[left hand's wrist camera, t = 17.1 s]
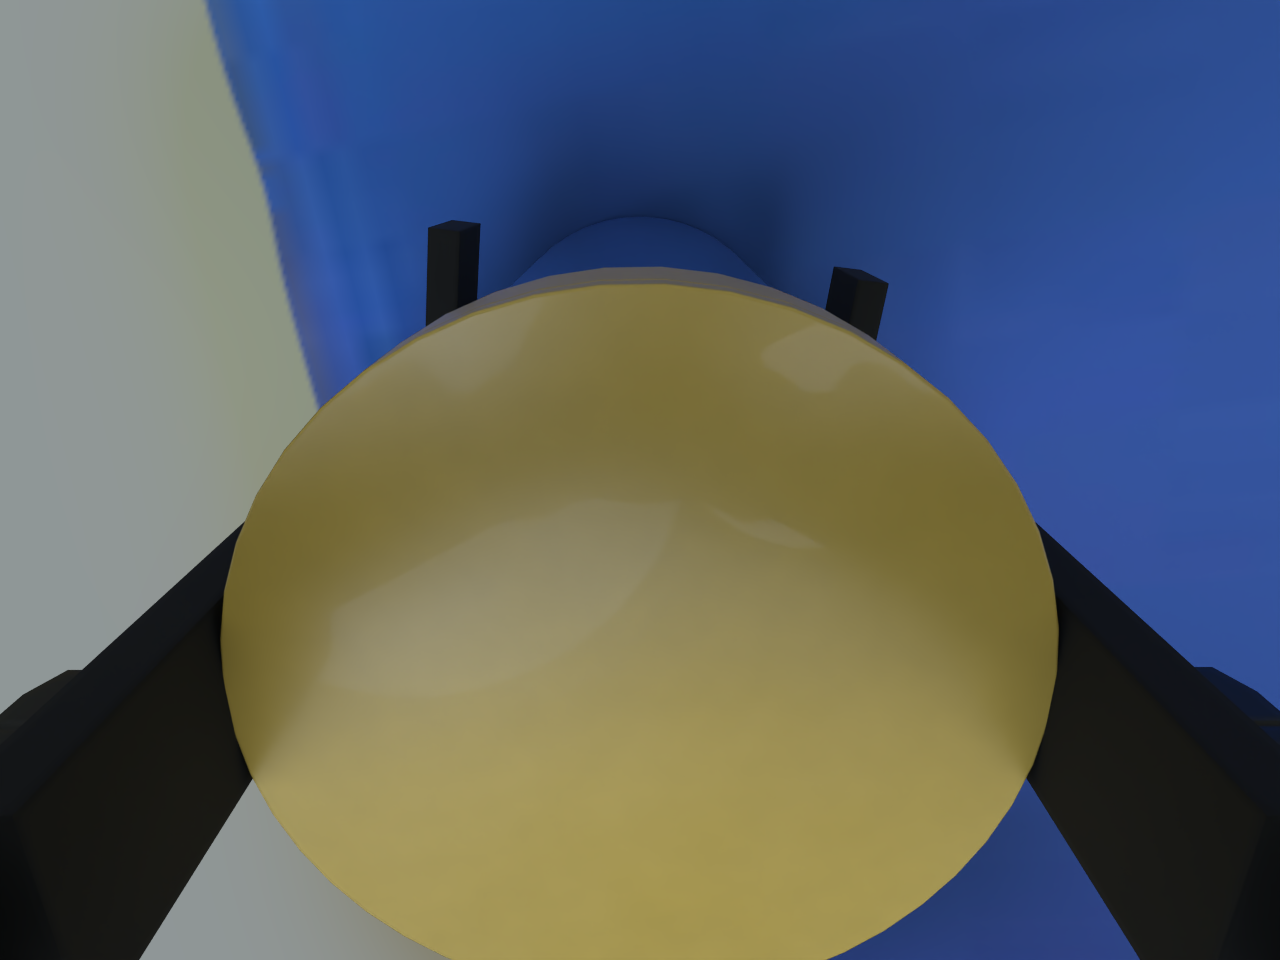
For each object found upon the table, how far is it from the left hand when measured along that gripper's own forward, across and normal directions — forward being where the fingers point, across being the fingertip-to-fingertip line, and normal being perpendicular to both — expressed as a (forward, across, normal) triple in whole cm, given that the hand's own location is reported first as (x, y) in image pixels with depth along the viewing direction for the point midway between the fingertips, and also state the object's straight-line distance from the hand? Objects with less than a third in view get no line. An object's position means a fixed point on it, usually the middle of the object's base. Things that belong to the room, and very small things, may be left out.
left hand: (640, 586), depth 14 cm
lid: (-3, 0, 0) cm, 3 cm away
